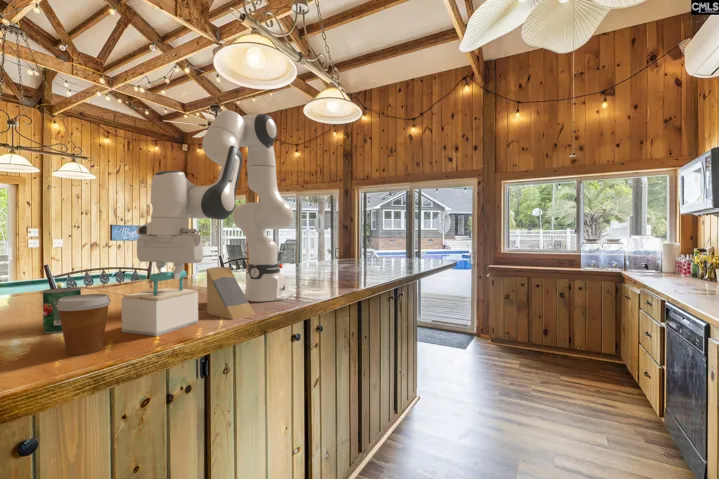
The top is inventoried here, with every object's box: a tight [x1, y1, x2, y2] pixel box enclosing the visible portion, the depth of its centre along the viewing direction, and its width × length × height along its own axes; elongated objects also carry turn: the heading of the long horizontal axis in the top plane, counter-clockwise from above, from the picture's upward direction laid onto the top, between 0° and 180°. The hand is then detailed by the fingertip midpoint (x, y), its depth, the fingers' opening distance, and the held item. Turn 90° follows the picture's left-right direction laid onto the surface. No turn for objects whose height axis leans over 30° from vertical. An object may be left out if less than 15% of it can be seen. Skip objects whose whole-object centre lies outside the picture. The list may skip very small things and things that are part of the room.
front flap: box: [142, 269, 198, 300], centre depth 93 cm, size 13×6×6 cm, turn 162°
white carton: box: [121, 291, 199, 337], centre depth 94 cm, size 14×12×9 cm
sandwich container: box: [206, 266, 256, 321], centre depth 110 cm, size 9×15×15 cm, turn 53°
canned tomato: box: [42, 286, 82, 334], centre depth 92 cm, size 8×8×11 cm
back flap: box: [122, 287, 177, 299], centre depth 95 cm, size 13×6×1 cm, turn 162°
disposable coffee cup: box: [56, 293, 112, 356], centre depth 75 cm, size 10×10×12 cm
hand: (170, 278), depth 93 cm, fingers open, 3 cm apart
